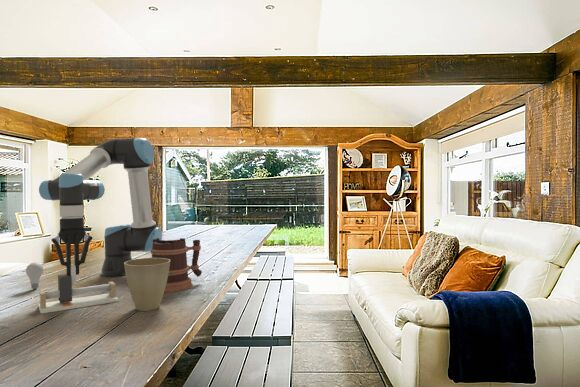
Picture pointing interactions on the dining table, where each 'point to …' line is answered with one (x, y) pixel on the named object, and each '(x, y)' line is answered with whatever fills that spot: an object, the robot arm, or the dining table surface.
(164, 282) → the plant pot
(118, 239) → the robot arm
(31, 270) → the lightbulb
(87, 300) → the rail
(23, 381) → the dining table surface
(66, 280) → the dark grey slider block
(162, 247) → the mug
